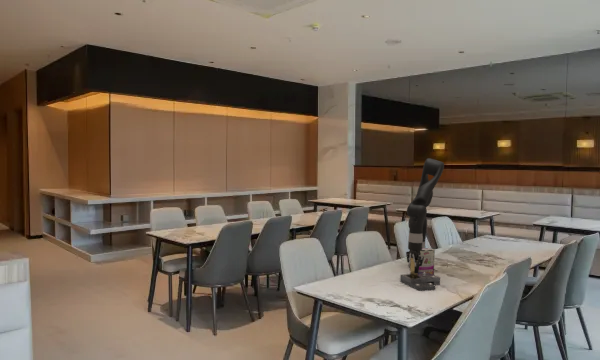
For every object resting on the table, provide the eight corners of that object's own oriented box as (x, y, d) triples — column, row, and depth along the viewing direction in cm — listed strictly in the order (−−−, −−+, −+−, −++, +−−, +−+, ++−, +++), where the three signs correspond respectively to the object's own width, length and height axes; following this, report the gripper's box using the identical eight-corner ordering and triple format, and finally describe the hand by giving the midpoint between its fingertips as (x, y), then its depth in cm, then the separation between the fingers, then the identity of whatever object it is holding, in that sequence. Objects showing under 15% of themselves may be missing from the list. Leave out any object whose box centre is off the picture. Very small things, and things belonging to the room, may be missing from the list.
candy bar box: (429, 275, 264) (430, 248, 264) (433, 277, 260) (435, 249, 259) (412, 275, 262) (413, 248, 261) (416, 278, 257) (418, 250, 256)
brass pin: (408, 278, 245) (409, 257, 245) (414, 278, 247) (415, 257, 246) (412, 280, 241) (413, 258, 241) (418, 280, 243) (419, 258, 242)
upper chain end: (400, 281, 247) (400, 273, 247) (428, 279, 254) (429, 271, 253) (410, 286, 238) (410, 278, 238) (439, 284, 244) (440, 276, 244)
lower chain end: (400, 281, 247) (400, 277, 247) (415, 280, 251) (415, 276, 251) (419, 291, 230) (419, 286, 230) (435, 289, 234) (435, 284, 234)
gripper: (429, 243, 238) (427, 275, 238) (413, 238, 251) (412, 268, 252) (417, 243, 235) (415, 275, 236) (402, 239, 249) (400, 269, 249)
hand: (413, 271), depth 244 cm, fingers closed on brass pin, 4 cm apart
